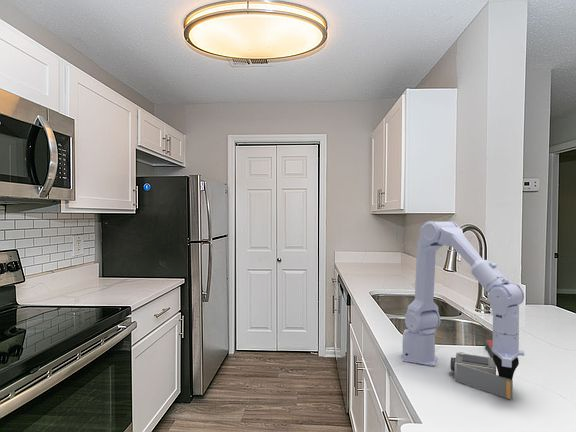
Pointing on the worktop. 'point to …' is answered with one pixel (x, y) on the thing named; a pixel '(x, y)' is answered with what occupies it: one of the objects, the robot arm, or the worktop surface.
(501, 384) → the side door
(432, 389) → the worktop surface
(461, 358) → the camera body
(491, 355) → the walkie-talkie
